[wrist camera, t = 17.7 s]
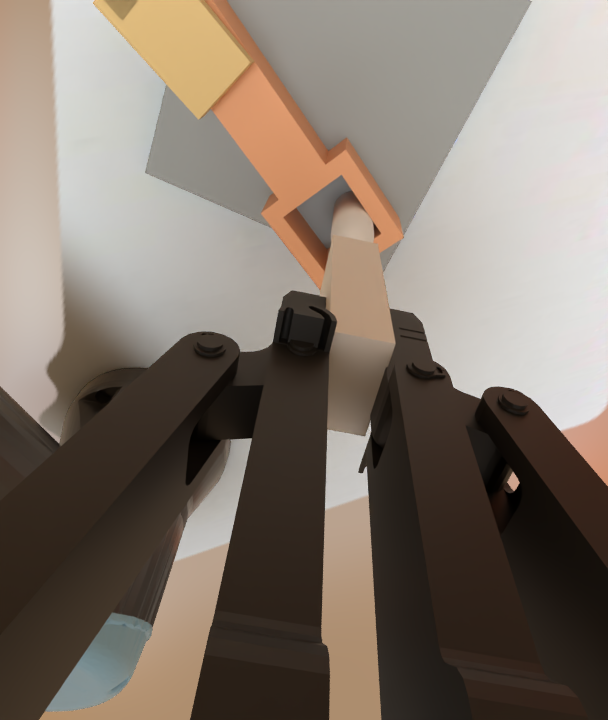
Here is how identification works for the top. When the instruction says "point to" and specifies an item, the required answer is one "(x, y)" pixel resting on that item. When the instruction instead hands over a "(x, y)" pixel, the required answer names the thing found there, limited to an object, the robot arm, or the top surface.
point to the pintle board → (320, 91)
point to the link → (293, 155)
